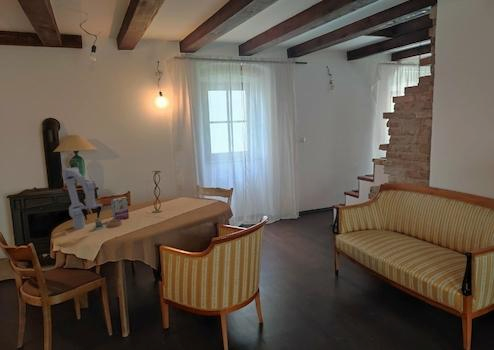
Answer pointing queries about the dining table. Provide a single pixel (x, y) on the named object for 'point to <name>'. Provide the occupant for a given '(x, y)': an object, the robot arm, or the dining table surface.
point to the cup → (114, 223)
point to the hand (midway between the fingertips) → (92, 218)
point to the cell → (98, 223)
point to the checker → (98, 228)
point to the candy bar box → (119, 208)
